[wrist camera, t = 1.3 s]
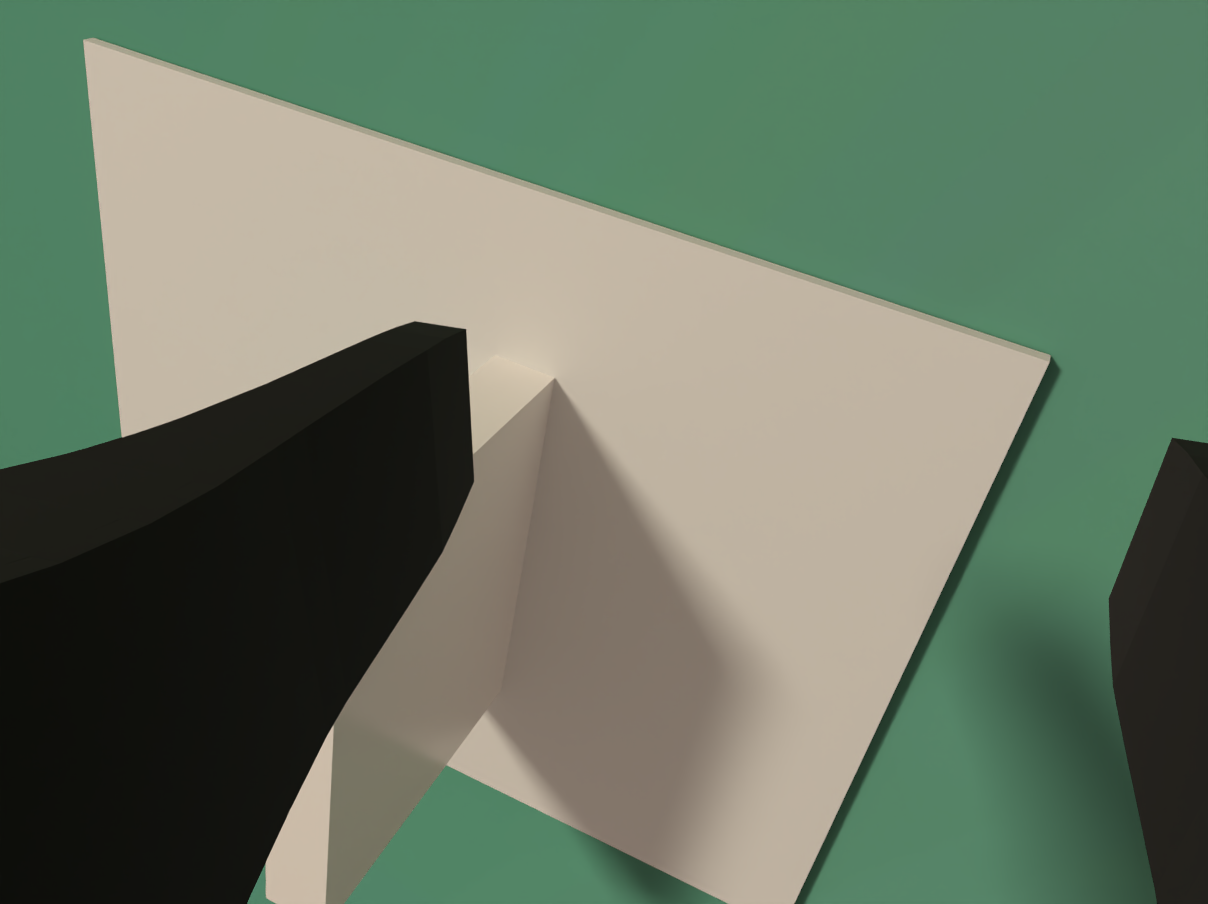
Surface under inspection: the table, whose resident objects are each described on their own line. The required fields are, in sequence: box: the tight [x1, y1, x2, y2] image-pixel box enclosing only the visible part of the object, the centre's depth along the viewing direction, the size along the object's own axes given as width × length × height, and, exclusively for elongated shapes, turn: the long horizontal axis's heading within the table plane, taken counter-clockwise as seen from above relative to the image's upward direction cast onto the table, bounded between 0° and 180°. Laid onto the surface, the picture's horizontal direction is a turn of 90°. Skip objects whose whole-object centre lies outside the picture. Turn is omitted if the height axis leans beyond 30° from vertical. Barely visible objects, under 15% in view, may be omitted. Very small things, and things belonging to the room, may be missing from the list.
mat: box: [83, 38, 1051, 904], centre depth 27 cm, size 22×18×1 cm
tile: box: [266, 355, 555, 904], centre depth 23 cm, size 2×10×8 cm, turn 168°
